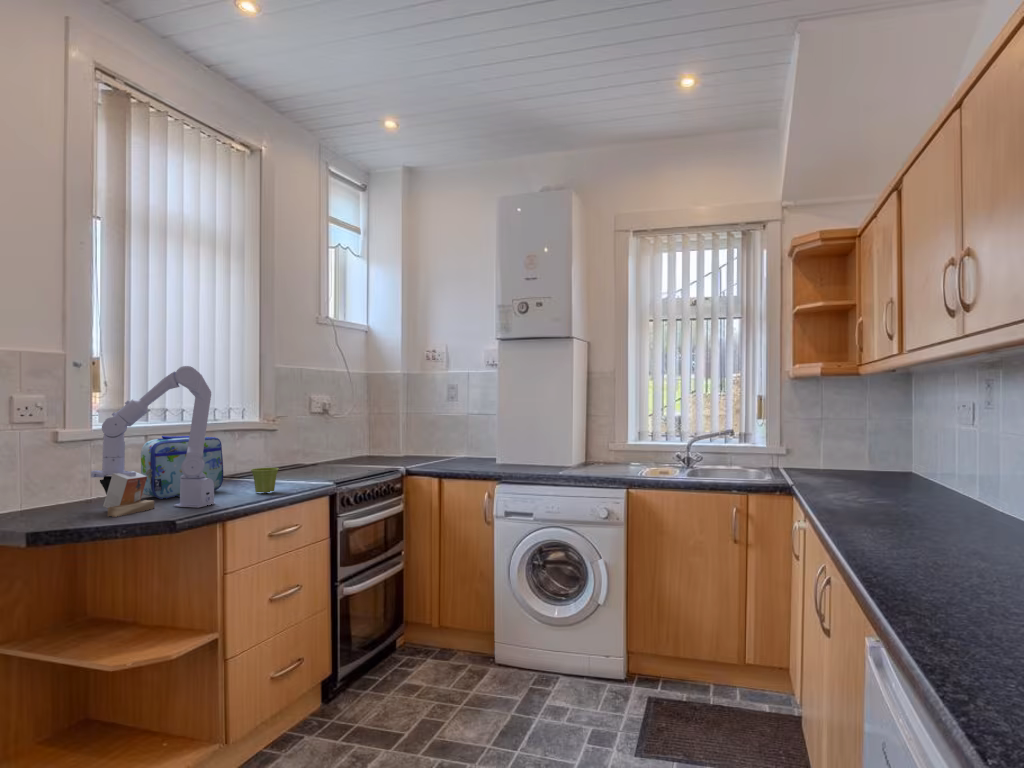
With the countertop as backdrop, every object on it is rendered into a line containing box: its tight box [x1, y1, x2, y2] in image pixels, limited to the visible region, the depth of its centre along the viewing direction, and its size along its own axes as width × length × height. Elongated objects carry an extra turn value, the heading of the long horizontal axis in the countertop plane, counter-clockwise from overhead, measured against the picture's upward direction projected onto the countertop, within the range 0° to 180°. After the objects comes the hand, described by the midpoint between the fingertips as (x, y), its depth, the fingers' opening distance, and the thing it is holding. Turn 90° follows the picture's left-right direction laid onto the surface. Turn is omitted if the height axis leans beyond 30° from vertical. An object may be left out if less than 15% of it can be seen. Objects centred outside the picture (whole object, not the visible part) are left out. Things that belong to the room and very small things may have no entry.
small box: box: [102, 470, 147, 509], centre depth 191 cm, size 8×6×10 cm
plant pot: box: [250, 467, 280, 493], centre depth 228 cm, size 9×9×9 cm
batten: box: [107, 499, 155, 518], centre depth 188 cm, size 3×14×2 cm, turn 167°
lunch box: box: [140, 435, 224, 500], centre depth 223 cm, size 26×11×21 cm, turn 146°
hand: (112, 501), depth 192 cm, fingers closed
